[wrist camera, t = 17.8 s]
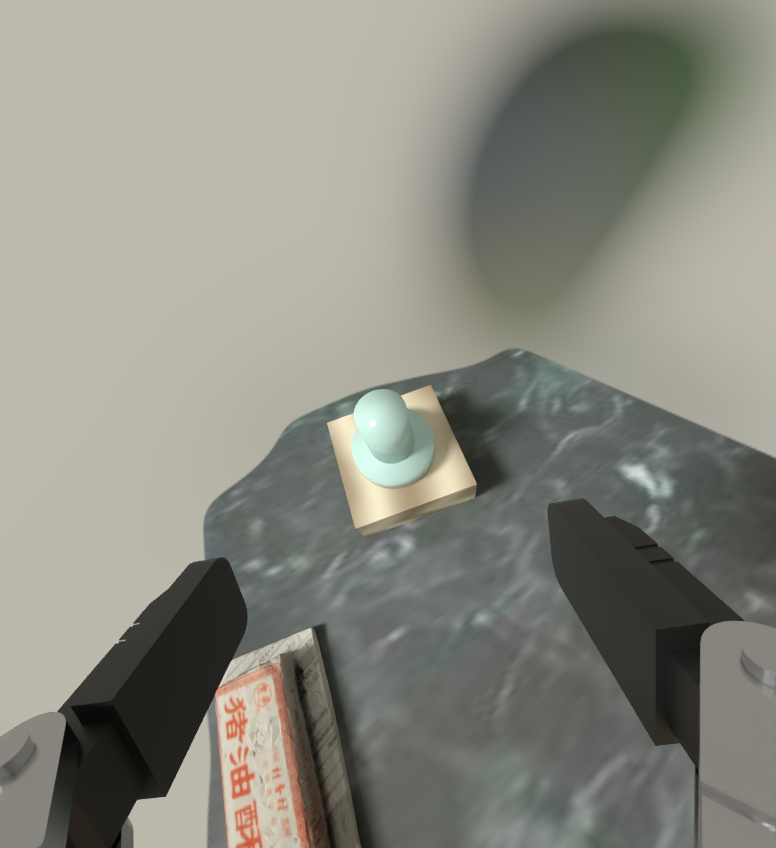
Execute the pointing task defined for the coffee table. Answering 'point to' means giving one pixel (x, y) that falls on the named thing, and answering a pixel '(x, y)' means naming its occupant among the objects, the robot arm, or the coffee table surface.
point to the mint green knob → (391, 441)
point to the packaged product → (283, 751)
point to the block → (428, 495)
